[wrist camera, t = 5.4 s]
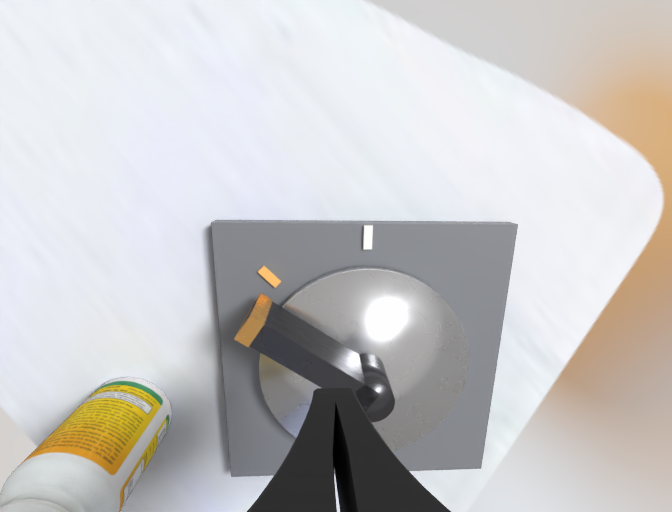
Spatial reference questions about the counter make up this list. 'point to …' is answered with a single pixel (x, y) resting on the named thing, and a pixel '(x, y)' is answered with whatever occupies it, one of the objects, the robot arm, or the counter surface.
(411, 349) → the dial
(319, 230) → the dial plate
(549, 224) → the counter surface
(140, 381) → the supplement bottle
